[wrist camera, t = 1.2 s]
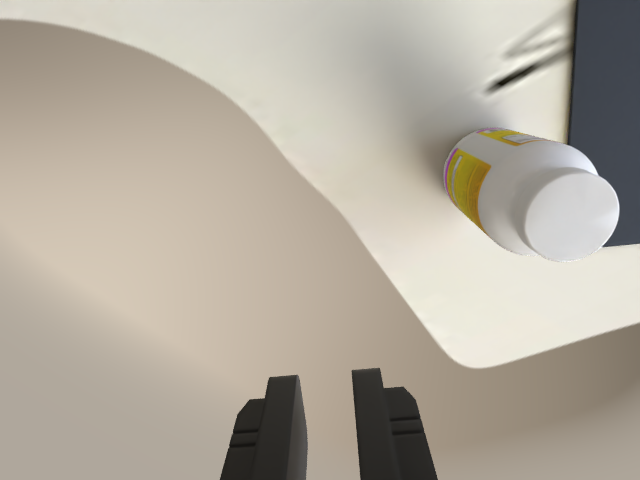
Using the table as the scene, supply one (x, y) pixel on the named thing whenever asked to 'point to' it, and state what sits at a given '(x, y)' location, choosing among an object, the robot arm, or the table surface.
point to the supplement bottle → (531, 194)
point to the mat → (609, 103)
